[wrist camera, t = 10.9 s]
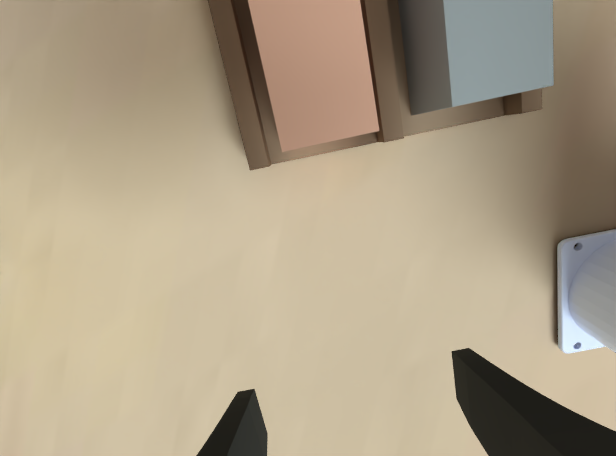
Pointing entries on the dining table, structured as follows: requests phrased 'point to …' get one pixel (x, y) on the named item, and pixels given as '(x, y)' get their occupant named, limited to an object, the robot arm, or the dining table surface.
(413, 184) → the dining table surface
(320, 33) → the plug block
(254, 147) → the comb rack
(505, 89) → the slate block
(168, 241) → the dining table surface
